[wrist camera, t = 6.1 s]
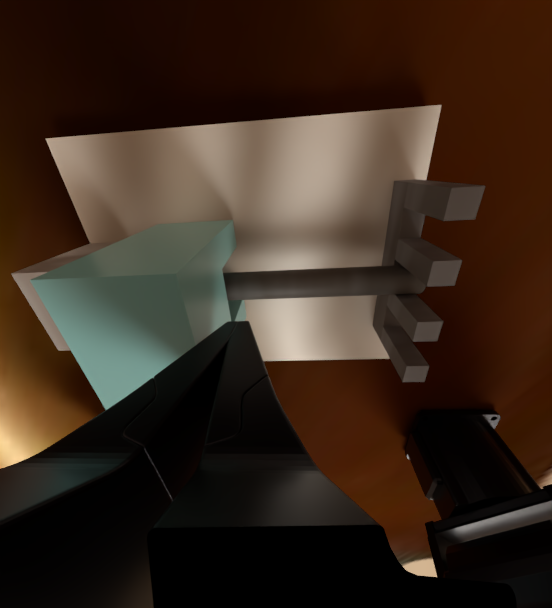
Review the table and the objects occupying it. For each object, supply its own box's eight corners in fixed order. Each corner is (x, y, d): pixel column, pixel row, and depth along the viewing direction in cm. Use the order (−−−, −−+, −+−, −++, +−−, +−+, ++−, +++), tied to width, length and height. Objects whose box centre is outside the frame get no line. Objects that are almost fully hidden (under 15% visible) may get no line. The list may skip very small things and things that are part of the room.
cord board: (427, 110, 12) (544, 62, 6) (383, 347, 18) (422, 420, 13) (65, 141, 13) (-91, 122, 8) (149, 352, 19) (97, 421, 14)
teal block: (232, 219, 13) (176, 273, 6) (246, 315, 16) (216, 421, 9) (158, 224, 13) (29, 280, 7) (184, 317, 16) (112, 421, 9)
